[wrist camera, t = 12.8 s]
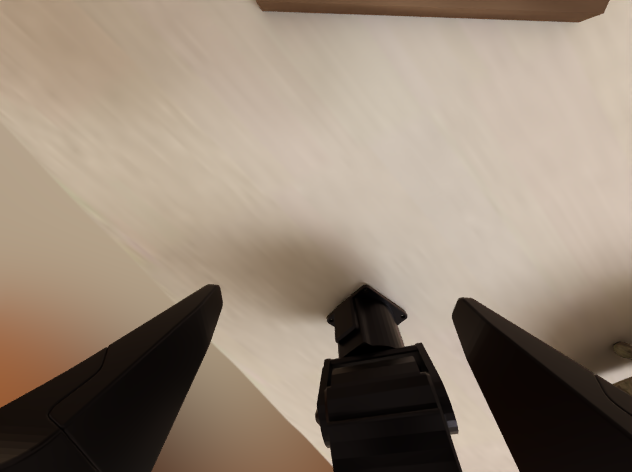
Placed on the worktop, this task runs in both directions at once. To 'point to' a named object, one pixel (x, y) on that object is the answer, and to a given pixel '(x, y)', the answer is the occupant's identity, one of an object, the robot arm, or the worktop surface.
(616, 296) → the worktop surface
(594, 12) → the walnut seat board
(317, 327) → the worktop surface
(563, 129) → the worktop surface
